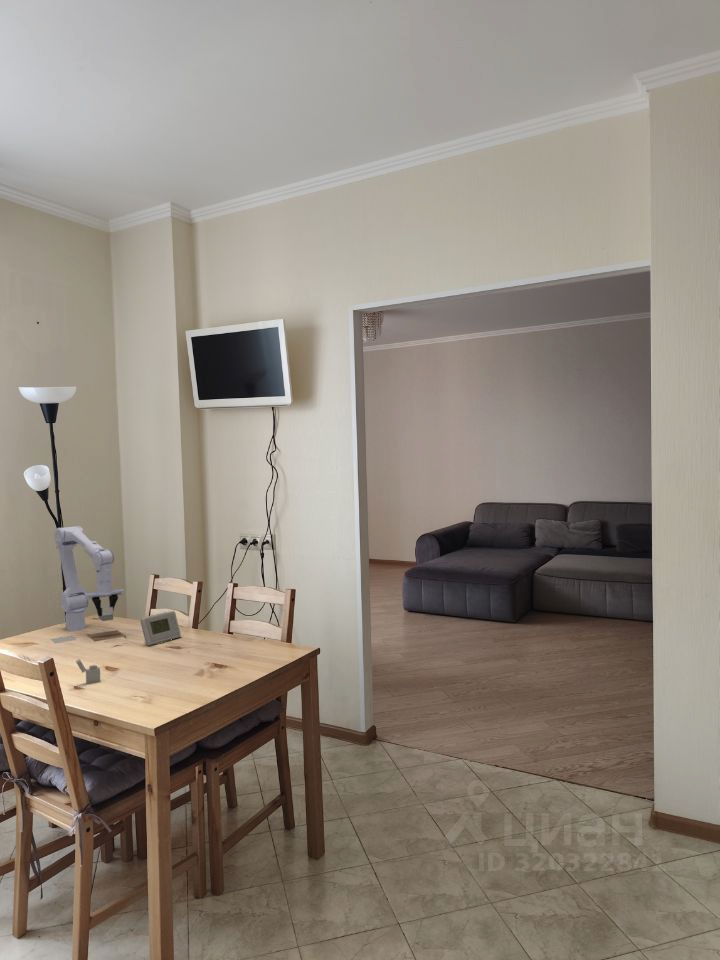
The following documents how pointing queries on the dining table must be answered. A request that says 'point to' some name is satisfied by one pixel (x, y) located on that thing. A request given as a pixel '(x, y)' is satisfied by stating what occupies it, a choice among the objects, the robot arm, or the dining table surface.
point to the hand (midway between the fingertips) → (105, 614)
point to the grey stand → (63, 639)
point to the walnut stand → (106, 635)
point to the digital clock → (160, 628)
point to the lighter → (90, 672)
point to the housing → (106, 612)
